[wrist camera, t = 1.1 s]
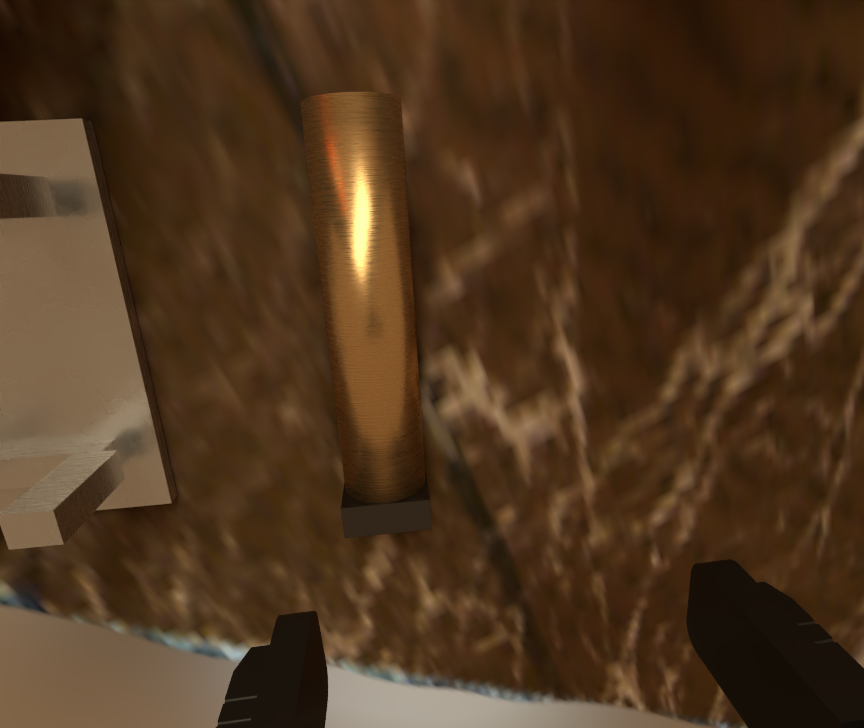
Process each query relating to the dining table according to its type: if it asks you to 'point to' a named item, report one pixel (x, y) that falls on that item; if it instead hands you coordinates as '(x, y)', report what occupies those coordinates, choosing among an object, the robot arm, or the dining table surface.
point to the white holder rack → (68, 344)
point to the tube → (369, 306)
